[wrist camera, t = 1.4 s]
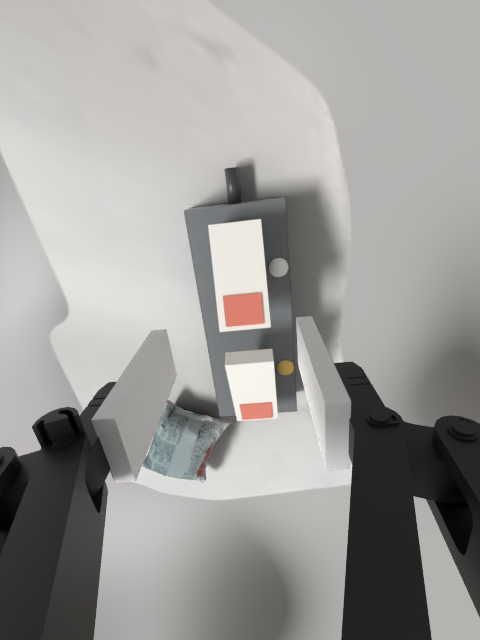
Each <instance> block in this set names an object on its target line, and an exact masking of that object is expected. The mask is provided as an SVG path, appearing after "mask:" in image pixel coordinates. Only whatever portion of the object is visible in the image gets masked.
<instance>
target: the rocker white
mask: <svg viewBox="0 0 480 640" xmlns="http://www.w3.org/2000/svg"><path fill="white" fill-rule="evenodd" d="M208 229H209V239H210V248H211V257H212V266H213V275H214V285H215V294H216V303H217V312H218V322H219V331H220V332H227V331H238V330H249V329H259V328H270V327H271V323H270V312H269V301H268V290H267V279H266V268H265V257H264V246H263V235H262V224H261V219H256V220H248V221H239V222H230V223H222V224H213V225H208Z"/></svg>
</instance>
